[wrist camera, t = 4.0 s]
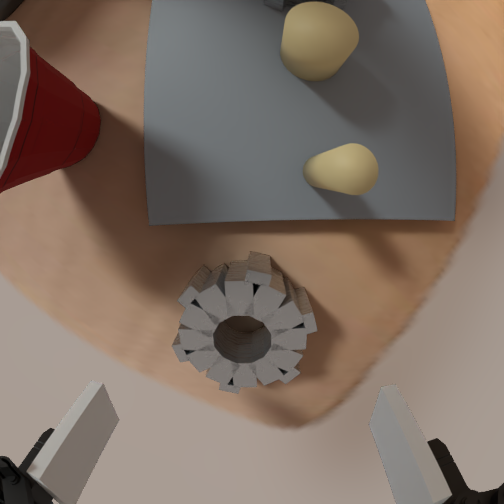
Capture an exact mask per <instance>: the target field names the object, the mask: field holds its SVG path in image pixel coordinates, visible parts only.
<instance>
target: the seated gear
mask: <svg viewBox="0 0 504 504" xmlns="http://www.w3.org/2000/svg"><path fill="white" fill-rule="evenodd" d="M348 1H349V0H264V5H265V6H268V7H270V8H273V9H276V10H278V11H281V12H282V11H283V10H284V9H285V7H286V6H289V7H295V6H296V5H299V4H301V3H305V2H323V3H328V4H331V5H333V6H335V7H338V8H339V9H341V10H344V8H345V6H346V4H347V2H348Z"/></svg>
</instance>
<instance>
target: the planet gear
mask: <svg viewBox="0 0 504 504" xmlns="http://www.w3.org/2000/svg"><path fill="white" fill-rule="evenodd" d="M177 301H178V302H179V303H180V304H181V305H183V306H184V307H185V308H186V309H185V311H184V313H183V315H182V317H181V319H180V321H179V322H180V323H181V325H180V327H179V329H178V331H179V332H178V334H177V336H176V338H175V340H174V342H173V344H172V347H173V349H174V351H175V353H176V355H177V357H178V359H179V361H180V362H185V361H190V362H191V363H192V364H193V366H194V367H195V368H196V369H197V370H198V371H199V372H202V371H204V370H206V369H207V373H206V377H208V378H210V379H212V380H214V381H217V382H219V383H220V387H219V390H222V391H227V392H232V393H237V394H238V393H239V390H240V387H257V378H258V379H259V380H260V381H261V382H262V384H263V385H264V386H265V385H267V384H269V383H271V382H274V381H276V380H278V379H279V380H281V381H282V382H283V383H285V384H287V383H288V382H289V381H291V380H292V379H293V378H295V377H296V376H297V375H299V374H300V373H301V371H300V365H299V361H300V359H301V358H302V357H303V352H302V349H306V339H307V334H309V333H313V332H316V331H317V326H316V322H315V318H314V314H313V310H312V308H311V305H310V302H309V299H308V297H307V294H306V291H305V289H304V287H302V288H299V289H294V288H293V286H292V285H291V283H290V281H289V280H288V278H287V277H286V278H284V279H283V276H282V272H280V271H278V270H276V269H274V268H272V267H271V262H270V256H269V255H265V254H260V253H256V252H252V251H250V254H249V258H248V261H231V264H230V267H229V269H228V268H227V266H226V265H225V263H224V264H222V265H220V266H219V267H217V268H215V269H214V270H212V271H211V270H209V269H208V268H207V267H206V266H205V265H203V266H202V267H201V268H200V269H199V270H198V272H197V273H196V274H195V275H194V276H193V277H192V278H191V280H190V281H189V283H188V284H187V286H186V287H185V289H184V291H183V292H182V294H181V295H180V297H179V298H178V300H177ZM231 316H250V317H253V318H255V319H257V320H259V321H261V322H263V323H264V324H265V325H264V327H262V328H260V329H258V330H256V331H254V332H238V331H236V330H234V329H232V328H230V327H229V326H228V325H227V324H226V322H225V321H224V320H226V319H227V318H229V317H231Z"/></svg>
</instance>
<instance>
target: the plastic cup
mask: <svg viewBox="0 0 504 504" xmlns="http://www.w3.org/2000/svg"><path fill="white" fill-rule="evenodd" d="M100 122H101V119H100V115H99V110H98V107H97V106H96V105H95V103H94V102H93V101H92V100H91V98H90V97H89V96H88V95H87V94H85V93H84V92H82V91H81V90H80V89H78V88H77V87H76V86H75V84H74V83H73V82H72V81H70V80H69V79H68V78H67V77H65V76H64V75H63V74H62V73H60V72H59V71H58V70H56V69H55V68H54V67H53V66H51V65H50V64H49V63H47V62H46V61H45V60H44V59H42V58H41V57H40V56H39V55H38V54H37V53H36V51H35V50H33V49H32V48H31V47H30V46H29V39H28V38H27V37H26V35H25V34H24V32H23V31H22V29H21V28H20V26H19V25H18V23H17V22H16V21H0V193H1V192H3V191H5V190H7V189H10V188H12V187H15V186H17V185H20V184H22V183H25V182H27V181H30V180H33V179H35V178H38V177H41V176H44V175H47V174H50V173H51V172H53V171H55V170H58V169H62V168H65V167H69V166H71V165H73V164H75V163H77V162H78V161H80V160H82V159H83V158H85V157H86V156H87V154H88V153H89V152H90V151H91V149H92V148H93V147H94V145H95V142H96V140H97V137H98V135H99V130H100Z"/></svg>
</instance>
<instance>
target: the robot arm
mask: <svg viewBox="0 0 504 504" xmlns="http://www.w3.org/2000/svg"><path fill="white" fill-rule="evenodd" d="M22 1H23V0H0V21H3V20H4V19H5V18H6V17H8V16H9V15H10V14H11V13H12V12H13V11H14V10H15V9H16V8H17V7H18V6H19V4H20V3H21V2H22ZM118 421H119V418H118V416H117V414H116V412H115V409H114V407H113V405H112V403H111V401H110V398H109V396H108V393H107V391H106V389H105V386H104V384H103V383H101V382H96V381H91V382H90V383H89V384H88V385H87V387H86V388H85V390H84V391H83V392H82V393H81V395H80V396H79V397H78V399H77V400H76V401H75V403H74V404H73V406H72V407H71V408H70V410H69V411H68V412H67V414H66V415H65V417H64V418H63V419H62V421H61V422H60V423H59V425H58V426H57V427H56V429H52V428H50V429H48V430H47V431H45V432H44V433H43V434H42V435H41V437H40V438H39V440H38V442H36V444H35V445H34V447H33V448H32V449H31V451H30V452H29V454H28V455H27V456H26V458H25V459H24V461H23V462H22V464H21V465H20V466H19V467H18V468H17V467H16V466H15V464H14V463H13V462H12V461H11V460H10V459H9V458H8V457H5V456H0V504H53V502H52V499H53V498H54V499H55V500H56V501H57V502H58V503H59V504H76V503H77V501H78V499H79V497H80V495H81V493H82V490H83V489H84V487H85V485H86V483H87V481H88V478H89V477H90V475H91V473H92V471H93V469H94V467H95V465H96V463H97V461H98V459H99V457H100V455H101V453H102V451H103V450H104V447H105V445H106V444H107V442H108V440H109V438H110V436H111V434H112V433H113V431H114V429H115V427H116V425H117V423H118ZM369 426H370V429H371V432H372V434H373V437H374V440H375V443H376V445H377V448H378V451H379V454H380V457H381V460H382V463H383V466H384V469H385V472H386V474H387V477H388V481H389V483H390V487H391V490H392V493H393V496H394V499H395V502H396V504H504V483H503V484H502V485H501V486H500V487H499V488H497V489H493V490H489V491H485V492H477V491H475V490H470V489H469V488H468V486H467V485H466V483H465V481H464V479H463V477H462V475H461V473H460V471H459V469H458V467H457V466H456V463H455V462H454V460H453V458H452V456H451V455H450V452H449V451H448V449H447V447H446V445H445V444H444V443H442V442H441V441H440V440H439V439H437V438H436V439H434V440H431V441H428V442H427V441H426V439H425V438H424V435H423V433H422V431H421V429H420V428H419V426H418V424H417V422H416V420H415V418H414V416H413V414H412V413H411V411H410V409H409V407H408V405H407V404H406V402H405V400H404V398H403V396H402V394H401V393H400V391H399V389H398V387H397V386H396V384H392V385H387V386H382V387H381V389H380V392H379V395H378V398H377V402H376V405H375V408H374V411H373V414H372V417H371V420H370V423H369Z"/></svg>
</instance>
